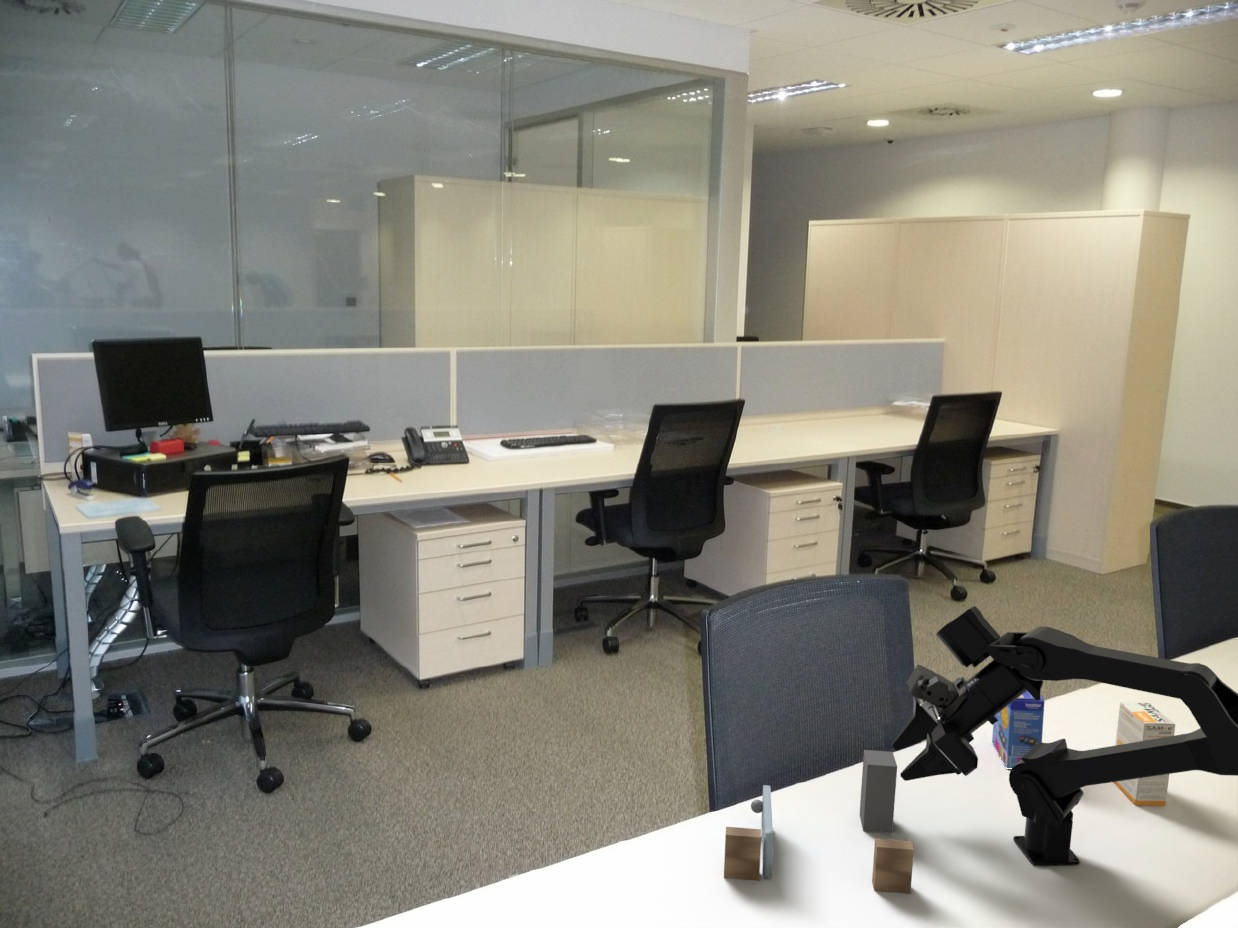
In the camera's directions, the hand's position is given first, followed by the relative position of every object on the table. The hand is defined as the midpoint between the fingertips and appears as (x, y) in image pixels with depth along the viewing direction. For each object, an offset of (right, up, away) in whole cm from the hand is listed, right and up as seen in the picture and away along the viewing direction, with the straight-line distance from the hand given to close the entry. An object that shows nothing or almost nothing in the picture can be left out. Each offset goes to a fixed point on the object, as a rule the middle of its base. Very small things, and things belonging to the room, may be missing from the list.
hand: (897, 762), depth 146 cm
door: (-20, -10, -6) cm, 23 cm away
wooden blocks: (-14, -12, -13) cm, 22 cm away
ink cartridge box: (+25, -6, +23) cm, 35 cm away
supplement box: (+40, -8, +12) cm, 42 cm away
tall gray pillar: (-3, -9, +2) cm, 10 cm away
